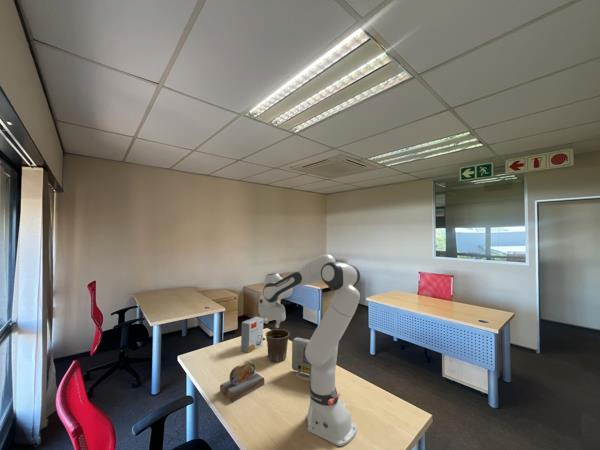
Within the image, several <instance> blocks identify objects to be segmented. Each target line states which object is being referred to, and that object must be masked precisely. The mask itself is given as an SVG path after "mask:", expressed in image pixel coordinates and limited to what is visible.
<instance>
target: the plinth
mask: <svg viewBox="0 0 600 450" xmlns="http://www.w3.org/2000/svg"><path fill="white" fill-rule="evenodd" d="M264 385H265V377H264V376H261V375H260V374H258V373H257V372H254V374H253V376H252V377H251V378H250V379H248V380H246V381H244V382H242V383H240V384H238V385H234V384H233V383H231V382H230V379H229V380H227V381H225V382H223V383H221V384H219V392H220V393H221V394H222V395H223V396H224V397H225V398H226V399H228V400H229V402H231V403H235V402H237V401H238V400H239V399H242V398H244V397H245V396H247V395H249V394H251V393H253V392H255V391H256V390H257V389H259V388H261V387H263V386H264Z"/></svg>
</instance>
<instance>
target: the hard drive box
mask: <svg viewBox="0 0 600 450" xmlns="http://www.w3.org/2000/svg"><path fill="white" fill-rule="evenodd" d="M240 336H241V337H240V339H241V340H240V351H243V352H245V353H250V352H253V351H254V350H256V349H258V348H260V347H262V346H263V343H264V342H263V341H264V340H263V339H264V318H263V317H259V316H254V317H252V318H250V319H246V320H244V321H242V322H241V335H240Z"/></svg>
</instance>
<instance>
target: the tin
mask: <svg viewBox="0 0 600 450" xmlns="http://www.w3.org/2000/svg"><path fill="white" fill-rule="evenodd" d="M255 371H256V365H255V363H253V362H251V361H246V362H243V363H241V364H238V365H237V366H235V367H233V369H232V370H231V371H230V373H229V380H230V382H231V383H233V384H234V385H238V384H240V383H242V382H244V381H246V380H248V379H250V378H251V377H252V376H253V374H254V372H255ZM255 373H256V372H255Z"/></svg>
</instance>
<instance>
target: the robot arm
mask: <svg viewBox="0 0 600 450" xmlns="http://www.w3.org/2000/svg"><path fill="white" fill-rule="evenodd" d="M360 280H361V271H360V270H359V269H358V268H357V267H356V266H354V265H352V264H349V263H345V262H339V261H336V259H335V257H334V256H332V255H331V254H328V253H324V254H321V255H318V256H316V257H315V258H313V259H311V260H309V261H307V262H306V263H305V264H303V265H302V266H301V267H299V268H298V269H297V270H295V271H293V272H292V273H291V274H288V275H287V276H285V277H281V275H280V274H279V273H278V272H272V273H269V274H266V275H265V278H264V284H263V285H264V286H263V291H262V295H263V297H261V298H259V299H258V309H257V310H258V311H257V312H258V314H259V315H261V316H262V318H263V324H267V325H268V324H269V320H268V318H269V319H271V320H272V319H273V320H275V322H276V323H275V324H274V325H275V326H274V328H275V329H279V328H280V324H281V322H284V321H285V320H286V318H287V317H286V308H285V306H284V304H282V303H280V300H283V299H286V298H289V297H291V296H292V295H293V294H294V288H296V287H301V286H302V287H303V286H307V285H312V284H315V283H318V282H321V281H323V283H324V284H325V285H326V286H328V289H330V291H334V295H333V297H332V300H331V301H330V303H329V305H328V307H327V309H326V311H325V312H324V315H323V316H322V319H321V320H320V322H319V323H318V325H317V327H316V328H315V329H314V332H313V333H312V335H311V337H310V339H308V340H309V342H308V344H307V347H306V349H305V356H306V359H307V361H308V362H309V363H310V364H311V365H312V367H311V381H310V385H309V397H310V398H309V405H308V412H307V414H306V423H307V431H308V432H309V433H312V434H314V435H315V436H317V437H319V438H322V439H323V440H326V441H327V442H329V443H331V444H334V445H335V446H338V447H342V446H346V445H347V444H349V443H350V442H351V441H352V439H354V438H355V435H356V434H357V432H358V427H357V424H356V423H355V422H354V421H352V417H351V416H352V415H351V413H350V411H349V410H348V408H347V407H346V405H345V404H344V403H343V402H342V401H341V399H340V396H341V392H339V393H338V391H337V388H336V367H337V362H338V361H337V359H338V350H339V342H340V340H341V338H342V337H343V335H344V333H345V331H346V330H347V328H348V326H349V324H350V322H351V320H352V318H354V315H355V313H356V311H357V308H358V305H359V302H360V300H361V293H360V291H359V290H358V289H357V288H356V285H358V284H359V282H360Z"/></svg>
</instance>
